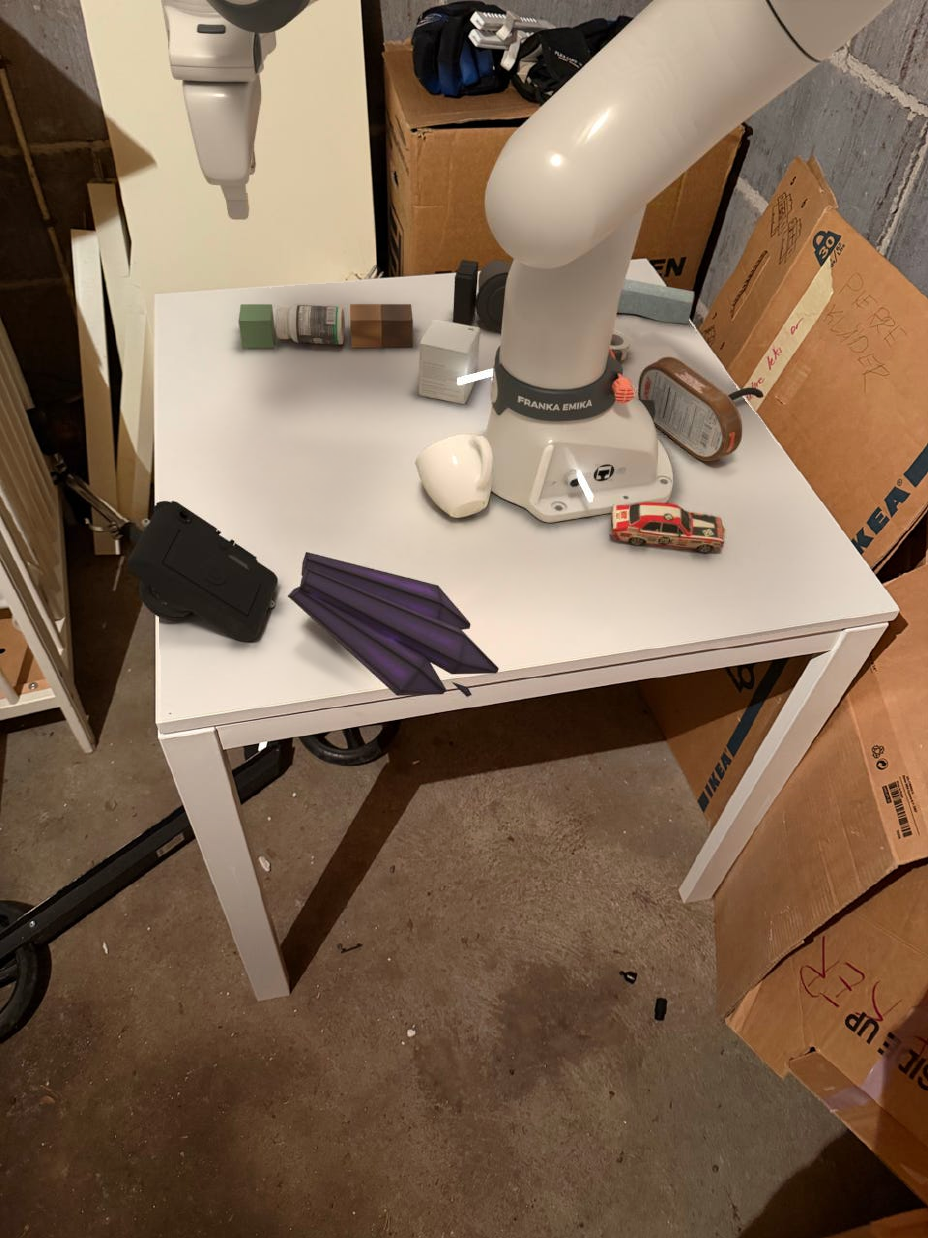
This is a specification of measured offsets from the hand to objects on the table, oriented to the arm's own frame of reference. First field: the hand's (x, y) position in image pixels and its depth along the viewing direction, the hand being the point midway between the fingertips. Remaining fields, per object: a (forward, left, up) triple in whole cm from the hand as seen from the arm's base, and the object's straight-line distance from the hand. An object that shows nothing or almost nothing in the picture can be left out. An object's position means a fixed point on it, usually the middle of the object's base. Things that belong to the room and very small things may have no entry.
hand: (243, 193), depth 83 cm
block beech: (-11, -19, -27) cm, 35 cm away
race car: (-42, +20, -27) cm, 54 cm away
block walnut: (-15, -19, -27) cm, 36 cm away
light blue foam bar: (-46, -27, -25) cm, 59 cm away
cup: (-22, +18, -24) cm, 37 cm away
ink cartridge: (-24, -23, -27) cm, 43 cm away
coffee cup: (-30, -30, -24) cm, 49 cm away
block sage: (+3, -19, -27) cm, 33 cm away
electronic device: (-38, -14, -27) cm, 49 cm away
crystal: (-4, +31, -20) cm, 37 cm away
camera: (+6, +32, -24) cm, 40 cm away
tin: (-48, +3, -27) cm, 55 cm away
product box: (-21, -8, -27) cm, 35 cm away
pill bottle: (-8, -18, -25) cm, 32 cm away
